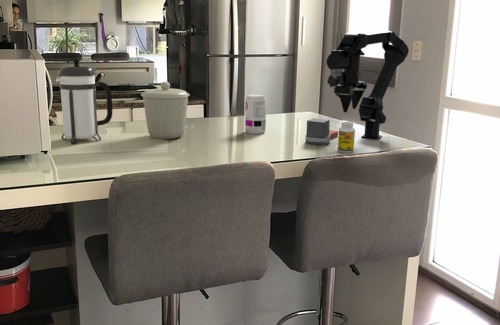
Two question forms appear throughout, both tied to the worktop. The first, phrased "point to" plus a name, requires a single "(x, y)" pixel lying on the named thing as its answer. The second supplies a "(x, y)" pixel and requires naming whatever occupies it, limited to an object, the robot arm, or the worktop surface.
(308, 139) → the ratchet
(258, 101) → the supplement can
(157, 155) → the worktop surface
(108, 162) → the worktop surface
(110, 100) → the coffee press
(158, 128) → the canister
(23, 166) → the worktop surface
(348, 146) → the supplement bottle
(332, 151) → the worktop surface
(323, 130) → the brushed grey cube
